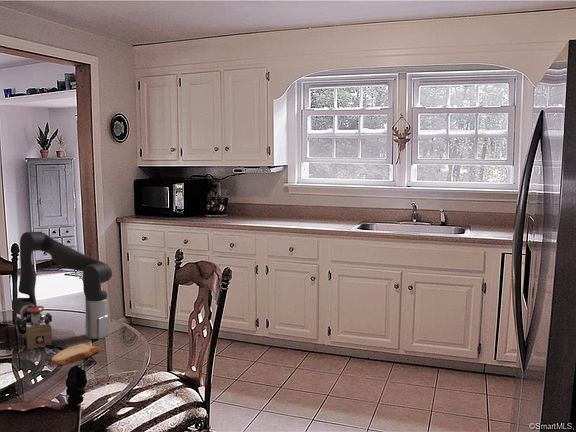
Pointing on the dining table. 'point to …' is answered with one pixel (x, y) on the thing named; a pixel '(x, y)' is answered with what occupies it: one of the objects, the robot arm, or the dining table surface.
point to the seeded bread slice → (74, 354)
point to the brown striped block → (38, 331)
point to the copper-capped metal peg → (36, 318)
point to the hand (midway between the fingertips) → (36, 324)
